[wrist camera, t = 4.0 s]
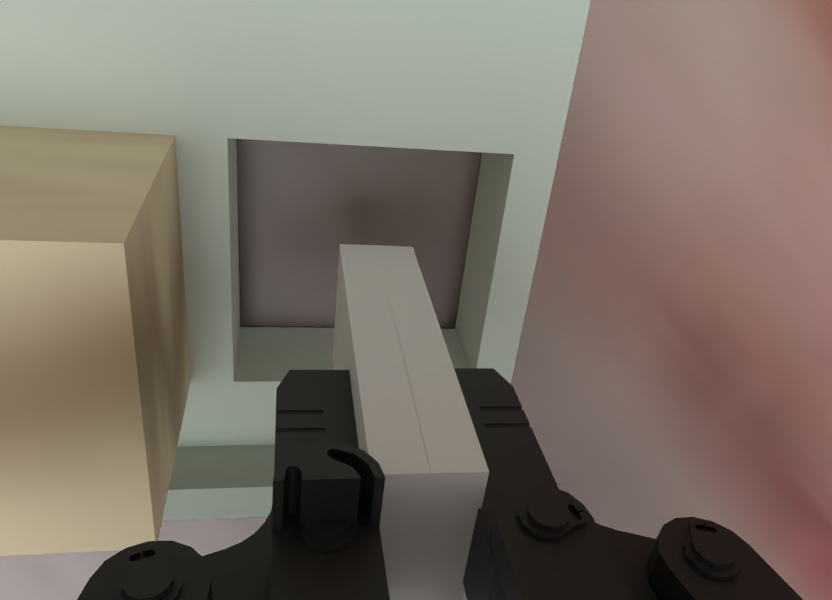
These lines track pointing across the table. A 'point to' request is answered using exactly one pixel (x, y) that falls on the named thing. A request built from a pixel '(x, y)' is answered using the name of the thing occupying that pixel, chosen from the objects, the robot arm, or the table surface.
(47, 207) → the maple block
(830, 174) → the table surface
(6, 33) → the sage tray
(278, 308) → the table surface
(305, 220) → the table surface
